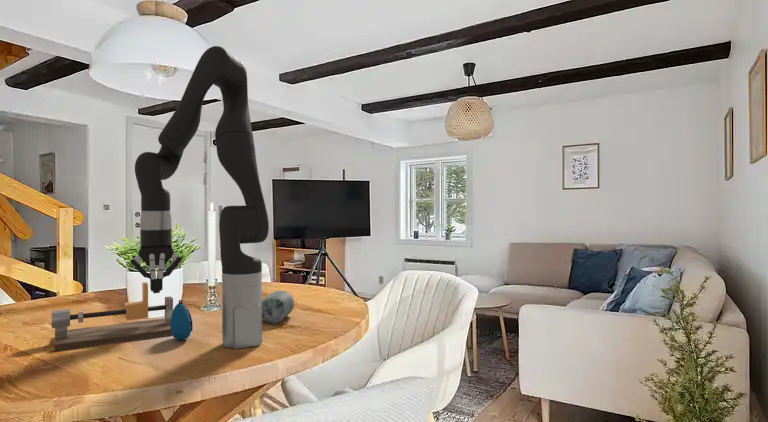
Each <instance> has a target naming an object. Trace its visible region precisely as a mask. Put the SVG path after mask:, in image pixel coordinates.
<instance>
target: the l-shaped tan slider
mask: <svg viewBox="0 0 768 422" xmlns="http://www.w3.org/2000/svg"><path fill="white" fill-rule="evenodd" d="M141 285H142V286H141V289H142V290H141V291H142V292H141V296H142V299H141V300H140V301H130V302H124V303H125V304H124V305H125V306H124V309H126V314H124V316H125V318H124V319H125V320H126V321H131V320H140V319H148V318H149V311H148V307H149V283H148V282H147V281H145V282H144V281H143V282H142V284H141Z"/></svg>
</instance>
